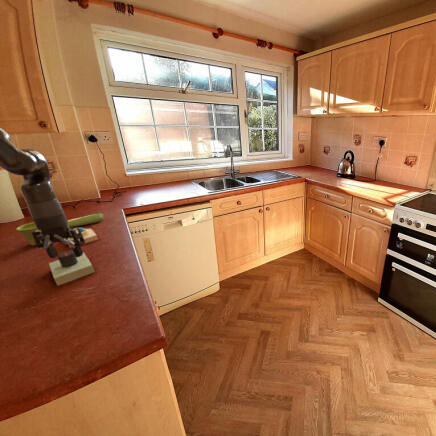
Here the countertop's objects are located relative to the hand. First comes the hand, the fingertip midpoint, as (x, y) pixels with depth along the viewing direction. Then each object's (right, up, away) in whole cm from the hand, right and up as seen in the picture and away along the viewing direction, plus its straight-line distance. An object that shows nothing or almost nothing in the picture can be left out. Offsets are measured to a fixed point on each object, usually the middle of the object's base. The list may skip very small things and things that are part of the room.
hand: (67, 256), depth 85 cm
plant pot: (-35, +2, +24) cm, 42 cm away
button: (-18, +7, +25) cm, 31 cm away
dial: (0, -3, +1) cm, 3 cm away
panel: (0, -6, +2) cm, 6 cm away
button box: (-18, +4, +26) cm, 32 cm away
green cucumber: (-31, +9, +42) cm, 53 cm away
